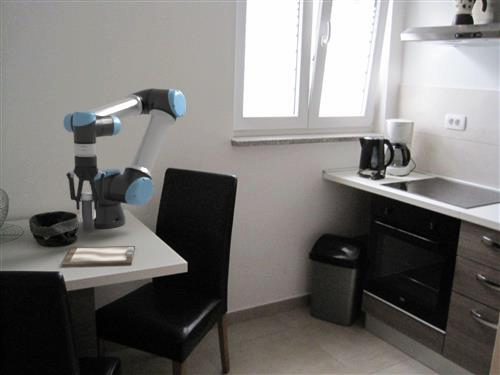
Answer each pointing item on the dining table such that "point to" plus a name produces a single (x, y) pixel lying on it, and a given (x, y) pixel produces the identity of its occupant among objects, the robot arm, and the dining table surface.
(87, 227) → the marker
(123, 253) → the clipboard
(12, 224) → the dining table surface
